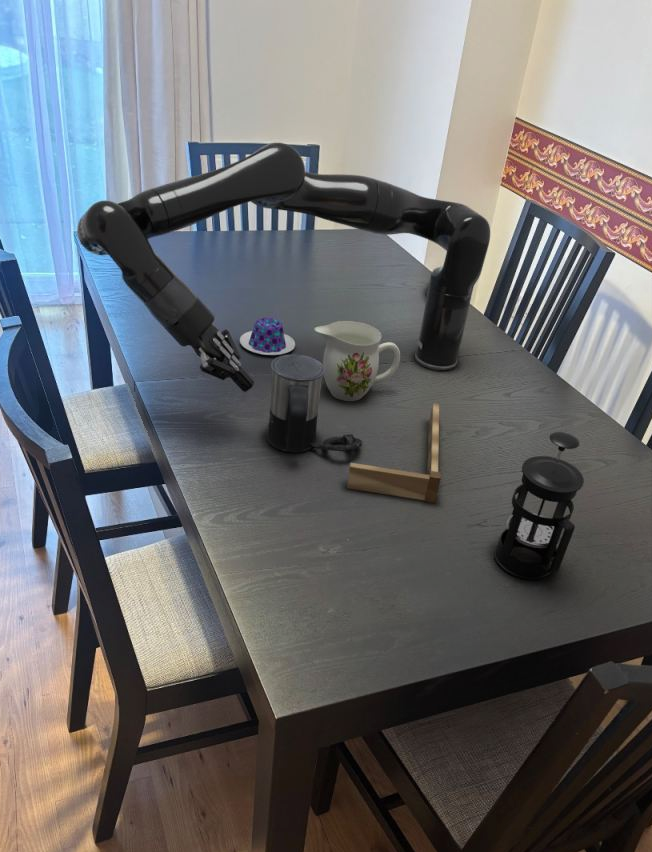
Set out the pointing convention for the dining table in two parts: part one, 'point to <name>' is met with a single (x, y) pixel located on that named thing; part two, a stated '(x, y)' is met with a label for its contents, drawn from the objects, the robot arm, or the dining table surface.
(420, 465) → the dining table surface
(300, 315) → the dining table surface
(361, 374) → the pitcher
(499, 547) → the french press
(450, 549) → the dining table surface
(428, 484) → the corner rail
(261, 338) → the pudding
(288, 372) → the milk frother
